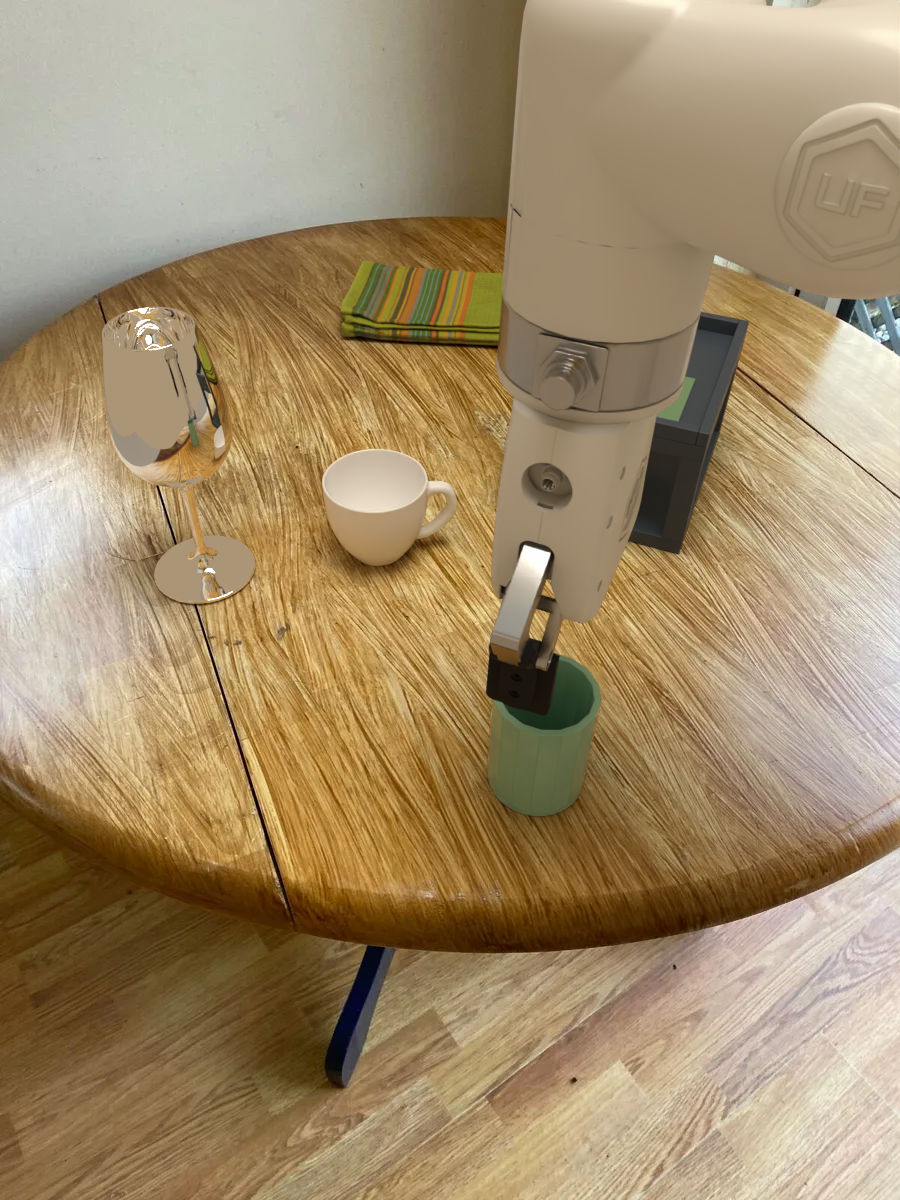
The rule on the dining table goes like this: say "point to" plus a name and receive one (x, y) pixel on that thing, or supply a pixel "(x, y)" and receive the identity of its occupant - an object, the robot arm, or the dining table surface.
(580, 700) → the tumbler
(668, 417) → the tray
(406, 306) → the dish towel
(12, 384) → the dining table surface
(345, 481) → the cup
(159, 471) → the wineglass
